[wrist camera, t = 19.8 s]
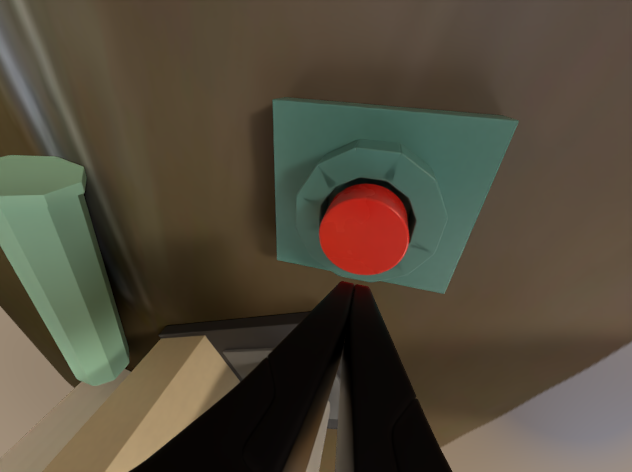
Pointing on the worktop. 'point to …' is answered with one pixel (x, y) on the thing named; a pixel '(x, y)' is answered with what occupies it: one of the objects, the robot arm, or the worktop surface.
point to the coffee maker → (176, 391)
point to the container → (61, 262)
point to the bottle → (58, 427)
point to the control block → (385, 177)
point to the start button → (365, 230)
